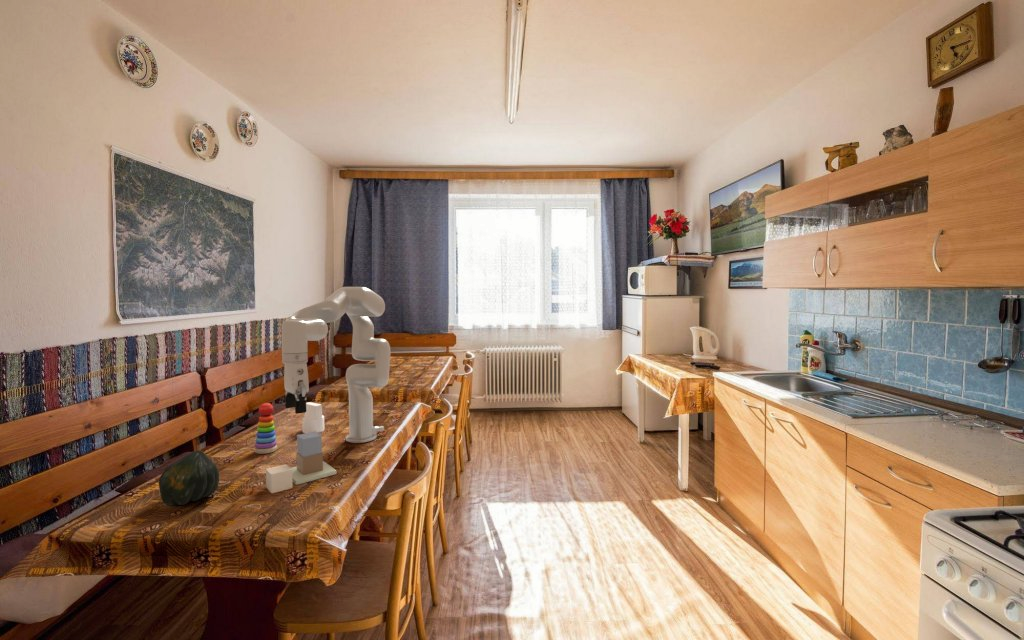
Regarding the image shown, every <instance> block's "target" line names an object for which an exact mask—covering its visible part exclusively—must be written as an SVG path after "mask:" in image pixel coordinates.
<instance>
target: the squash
mask: <svg viewBox="0 0 1024 640" xmlns="http://www.w3.org/2000/svg"><path fill="white" fill-rule="evenodd" d="M219 483H220V473H219V469H218V466H217V465H216V464H215V462H213V460H211V459H210V457H209V456H207V455H206V453H205V452H204V451H202V450H201V449H199V450H195V451H194V450H193V451H191V452H189V453H187V454H185V455H184V456H182V457H181V458H179V459H177V460H176V461H174V462H173V463H171V464H170V465H168V466H167V467H165V469H164V470H163V471H162V472H161V475H160V477H159V479H158V490H159V493H160V498H161V501H162V503H164V504H165V505H167V506H170V507H171V506H177V505H180V506H184V505H187V504H188V503H189V502H190V501H192V502H195V501H198V500H200V499H203V498H206V497H208V496H211V495H213V494H214V493H215V492H216V490H218V487H219Z"/></svg>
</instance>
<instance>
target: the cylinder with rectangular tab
mask: <svg viewBox="0 0 1024 640" xmlns="http://www.w3.org/2000/svg"><path fill="white" fill-rule="evenodd" d="M303 414H304V416H303V417H302V418H301V424H302V426H301V427H302V428H301V430H302V434H305V433H310V432H317V433H318V434H320V433H322V432H324V431H325V415H323V405H322V404H320V403H316V402H312V401H310V402H306V412H305V413H303Z"/></svg>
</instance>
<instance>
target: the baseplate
mask: <svg viewBox="0 0 1024 640" xmlns="http://www.w3.org/2000/svg"><path fill="white" fill-rule="evenodd" d="M323 455H324V453H323V452H322V453H319V454H315V455H311V456H306V457H302V456H301V455H300V454H299V453H297V452H296V466H292V467H290V468H291V469H292V483H293V484H294V485H295V486H296V485H297V486H298V485H301V484H304V483H307V482H312V481H316V480H318V479H319V480H320V479H322V478H323V479H324V478H326V477H330V476H333V475H337V470H336V469H335V468H333V467H332V466H331V465H330V464H328V463H327V462H325V461H324V456H323Z"/></svg>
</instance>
